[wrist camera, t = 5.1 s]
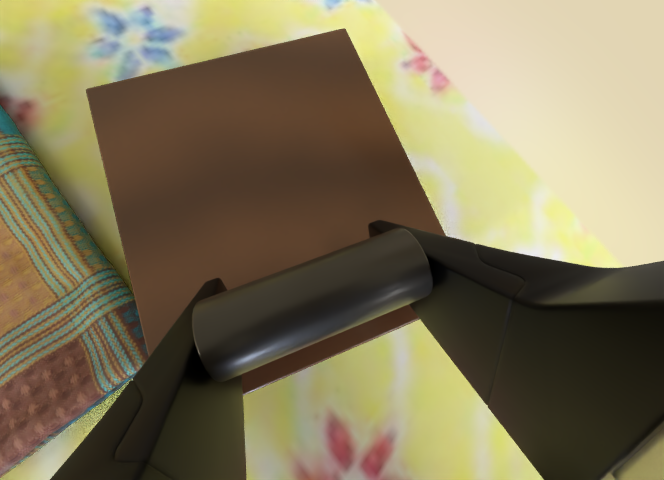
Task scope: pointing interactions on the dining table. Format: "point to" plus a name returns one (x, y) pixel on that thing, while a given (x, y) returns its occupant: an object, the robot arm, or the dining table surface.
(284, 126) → the lid
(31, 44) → the dining table surface
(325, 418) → the dining table surface
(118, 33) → the dining table surface
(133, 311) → the dish towel
